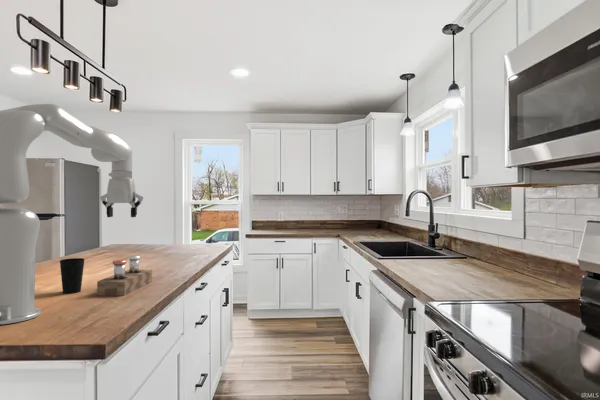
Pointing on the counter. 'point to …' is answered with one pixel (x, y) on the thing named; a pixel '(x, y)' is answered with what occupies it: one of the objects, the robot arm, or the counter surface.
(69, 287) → the cup
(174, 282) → the counter surface
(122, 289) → the socket block
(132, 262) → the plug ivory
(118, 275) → the plug red
